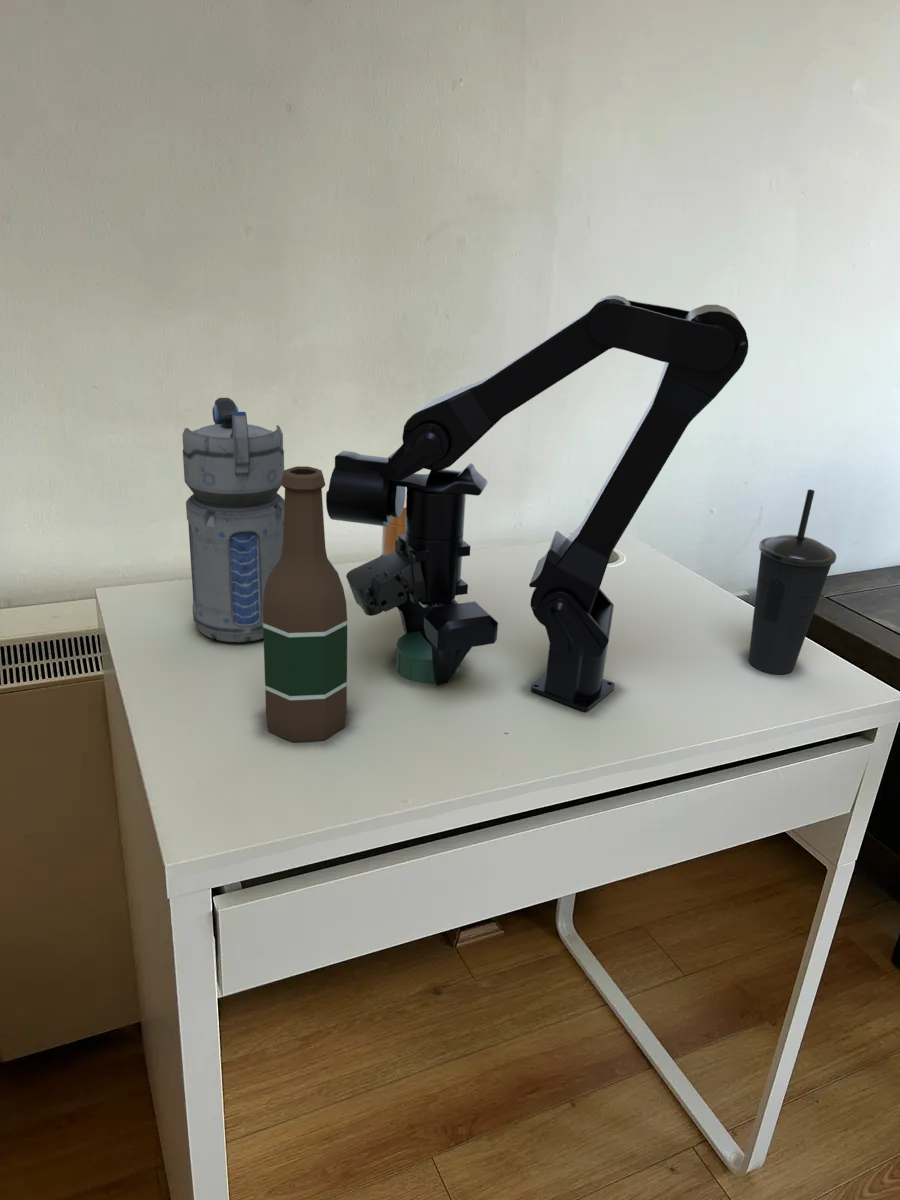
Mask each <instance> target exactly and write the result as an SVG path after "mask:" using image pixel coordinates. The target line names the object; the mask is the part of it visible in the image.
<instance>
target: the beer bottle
mask: <svg viewBox="0 0 900 1200" xmlns="http://www.w3.org/2000/svg"><path fill="white" fill-rule="evenodd" d="M281 484H282V485H281V487H283V488H284V525H283V544H282V550H281V557H280V560H279V561H278V563H277V564H276V566H275V567H274V568H273V570H272V571H271V573H270V574H269V577H268V579H267V582H266V585H265V588H264V597H263V636H264V638H263V662H264V663H263V664H264V692H265V693H264V695H265V715H266V717H265V718H266V727H267V730H268V732H270V733H271V734H273V735H276V736H278V737H280V738H282V739H284V740H286V741H289V742H290V743H305V742H307V743H308V742H323V741H325V740H327V739H328V738H330V737H331V736H333V735H334V734H336V733H337V732H339V731H341V730H342V729H344V727H345V726H346V721H347V710H348V709H347V706H348V705H347V704H348V703H347V702H348V698H347V697H348V611H347V599H346V594H345V590H344V586H343V584H342V581H341V578H340V574H339V572H338V570H336V568H335V566H333V563H332V562H331V561H330V560H329V558H328V554H327V550H326V535H325V520H324V519H325V518H324V504H323V490H322V489H323V488H324V487H326V481H325V477H324V474H323V470H322V469H319V468H315V467H312V466H307V465H306V466H301V465H299V466H293V467H290V468H287V469H284V472H283V475H282V479H281Z"/></svg>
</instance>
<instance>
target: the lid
mask: <svg viewBox="0 0 900 1200" xmlns="http://www.w3.org/2000/svg"><path fill="white" fill-rule="evenodd" d="M394 652H395V655H394V656H395V658H394V665H395V670H396V671H397V673H398V674H399V675H400V676H402V677H403V678H405V679H407V680H409V681H413V682H417V683H424V684H435V679H434V671H433V660H432V649H431V646H430V645H429V644H428V643H427V642H426V641H425V640H424V638H423V637H422V636H421V635H420V634H419V631H415V632H411V633H407V634H405V633H404V634H403V635H401V636H400V637H399V638H398V639H397V641H396V646H395V651H394ZM460 669H461V664H460V665H459V667H458V668H457V670H456V671H455V673H454V675H453V676H452V678H451V679H453V678H455V677H456V676H457V675H458V674H459V671H460Z"/></svg>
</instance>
